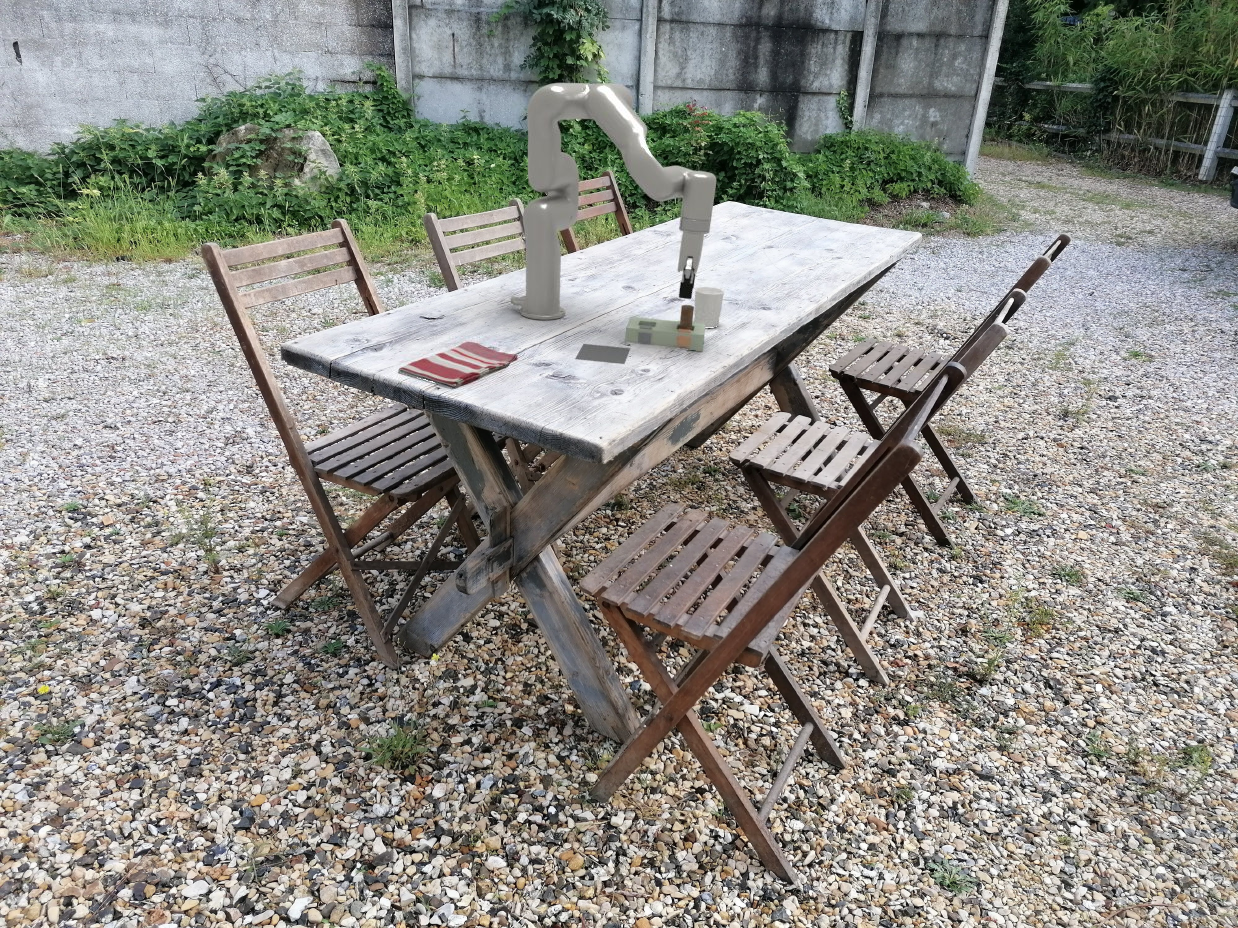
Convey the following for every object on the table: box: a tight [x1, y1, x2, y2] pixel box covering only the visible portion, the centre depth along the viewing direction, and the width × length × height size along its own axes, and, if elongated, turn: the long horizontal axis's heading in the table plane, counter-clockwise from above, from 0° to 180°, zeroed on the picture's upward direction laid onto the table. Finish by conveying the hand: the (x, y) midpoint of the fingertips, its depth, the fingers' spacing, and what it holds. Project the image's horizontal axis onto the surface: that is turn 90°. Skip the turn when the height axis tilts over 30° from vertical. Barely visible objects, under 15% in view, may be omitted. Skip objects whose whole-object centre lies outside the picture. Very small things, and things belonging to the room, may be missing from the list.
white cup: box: [693, 286, 725, 327], centre depth 233 cm, size 8×8×10 cm
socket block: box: [624, 316, 706, 352], centre depth 218 cm, size 20×10×5 cm, turn 82°
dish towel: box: [397, 341, 519, 390], centre depth 193 cm, size 17×23×3 cm
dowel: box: [679, 304, 695, 331], centre depth 216 cm, size 3×3×10 cm
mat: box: [574, 343, 631, 365], centre depth 206 cm, size 12×12×1 cm
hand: (686, 293), depth 213 cm, fingers open, 9 cm apart
